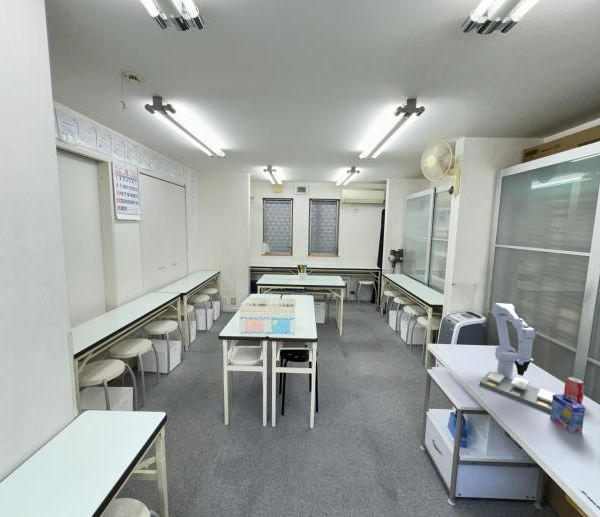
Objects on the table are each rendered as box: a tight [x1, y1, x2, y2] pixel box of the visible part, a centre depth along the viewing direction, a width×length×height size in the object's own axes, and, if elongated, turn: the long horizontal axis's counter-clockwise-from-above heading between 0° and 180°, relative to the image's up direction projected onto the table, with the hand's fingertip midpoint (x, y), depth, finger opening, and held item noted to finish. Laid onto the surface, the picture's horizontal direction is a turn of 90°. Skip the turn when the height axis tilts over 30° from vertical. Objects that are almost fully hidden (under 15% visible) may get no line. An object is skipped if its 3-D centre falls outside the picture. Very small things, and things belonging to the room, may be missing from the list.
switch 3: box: [537, 388, 557, 403], centre depth 141 cm, size 10×6×1 cm, turn 130°
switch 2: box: [511, 376, 530, 390], centre depth 150 cm, size 10×6×1 cm, turn 130°
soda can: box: [563, 376, 586, 405], centre depth 142 cm, size 7×7×12 cm
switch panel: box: [479, 371, 552, 414], centre depth 149 cm, size 18×32×2 cm, turn 40°
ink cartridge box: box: [549, 393, 586, 434], centre depth 124 cm, size 10×6×14 cm, turn 5°
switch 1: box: [487, 371, 505, 384], centre depth 158 cm, size 10×6×1 cm, turn 130°
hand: (522, 372), depth 150 cm, fingers open, 7 cm apart
